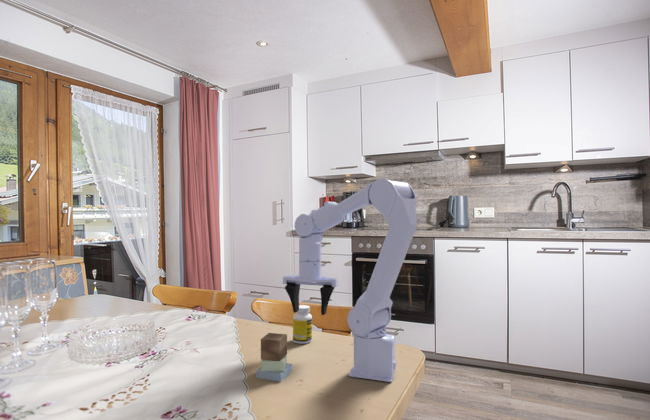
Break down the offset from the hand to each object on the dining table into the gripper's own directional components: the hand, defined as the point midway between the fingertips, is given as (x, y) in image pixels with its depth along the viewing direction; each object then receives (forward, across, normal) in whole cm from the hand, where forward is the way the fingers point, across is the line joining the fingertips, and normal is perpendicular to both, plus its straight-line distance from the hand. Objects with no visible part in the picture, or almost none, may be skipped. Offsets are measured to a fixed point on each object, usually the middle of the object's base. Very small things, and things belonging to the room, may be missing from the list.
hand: (309, 312), depth 96 cm
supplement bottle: (+11, +5, -8) cm, 14 cm away
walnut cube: (+7, +4, +14) cm, 16 cm away
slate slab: (+11, +3, +14) cm, 18 cm away
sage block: (+9, +3, +14) cm, 17 cm away
